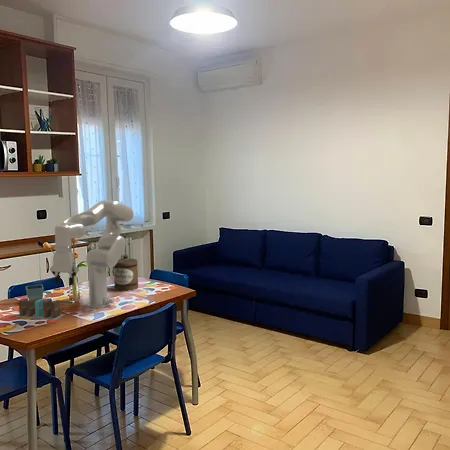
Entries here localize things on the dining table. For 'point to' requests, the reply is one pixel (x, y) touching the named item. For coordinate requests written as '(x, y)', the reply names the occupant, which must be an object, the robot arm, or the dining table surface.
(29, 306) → the domino
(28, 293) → the flower pot
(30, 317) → the felt runner
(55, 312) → the domino
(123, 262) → the wooden container
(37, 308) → the teal domino
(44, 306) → the domino
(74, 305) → the dining table surface
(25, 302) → the domino
